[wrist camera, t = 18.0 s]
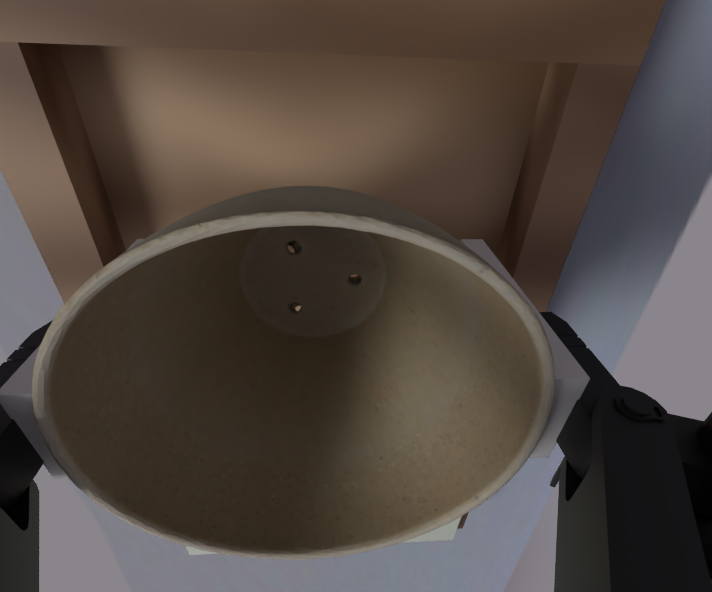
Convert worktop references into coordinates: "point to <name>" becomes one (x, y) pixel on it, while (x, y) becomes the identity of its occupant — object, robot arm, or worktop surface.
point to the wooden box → (314, 115)
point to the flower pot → (294, 378)
